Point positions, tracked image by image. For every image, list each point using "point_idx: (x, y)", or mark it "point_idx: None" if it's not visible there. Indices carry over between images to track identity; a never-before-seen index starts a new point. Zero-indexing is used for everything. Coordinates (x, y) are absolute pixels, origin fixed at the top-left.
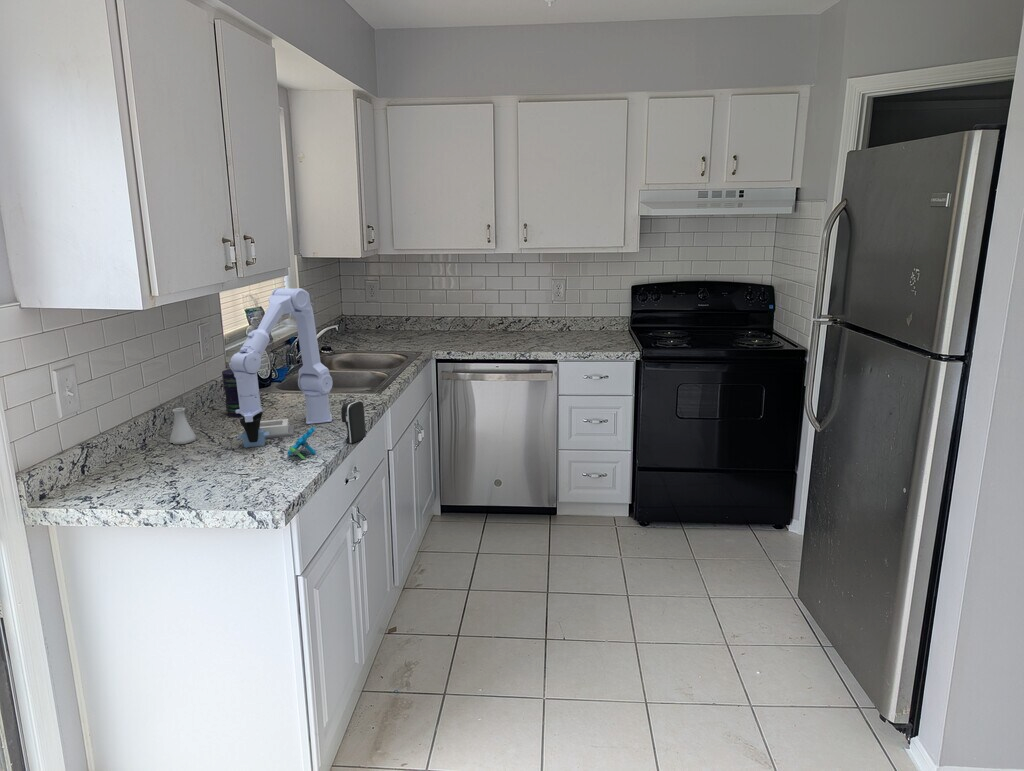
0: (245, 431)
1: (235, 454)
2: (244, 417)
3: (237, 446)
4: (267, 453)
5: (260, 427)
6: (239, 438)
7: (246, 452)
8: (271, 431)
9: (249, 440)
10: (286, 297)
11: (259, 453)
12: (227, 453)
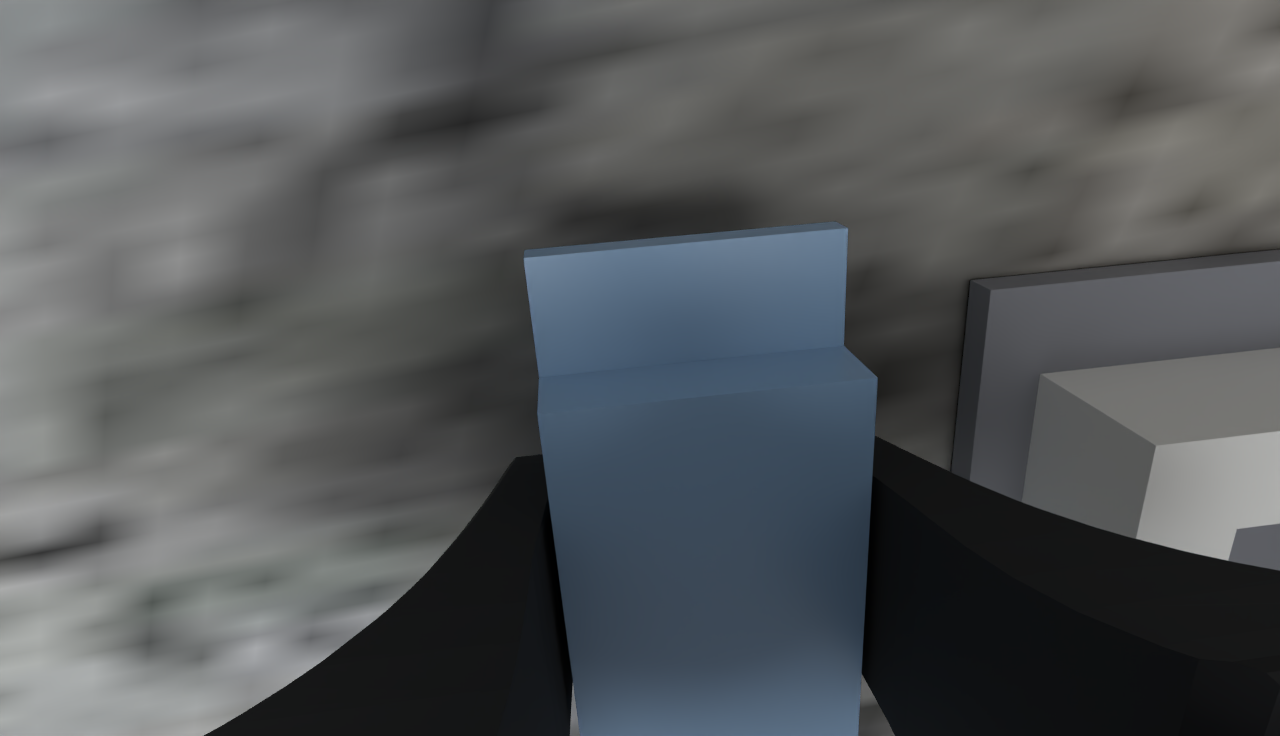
0: (771, 443)
1: (108, 227)
2: (1152, 707)
3: (651, 162)
4: (138, 715)
5: None
6: (530, 298)
7: (224, 405)
8: None
9: (499, 482)
10: None
11: (146, 613)
12: (190, 38)
